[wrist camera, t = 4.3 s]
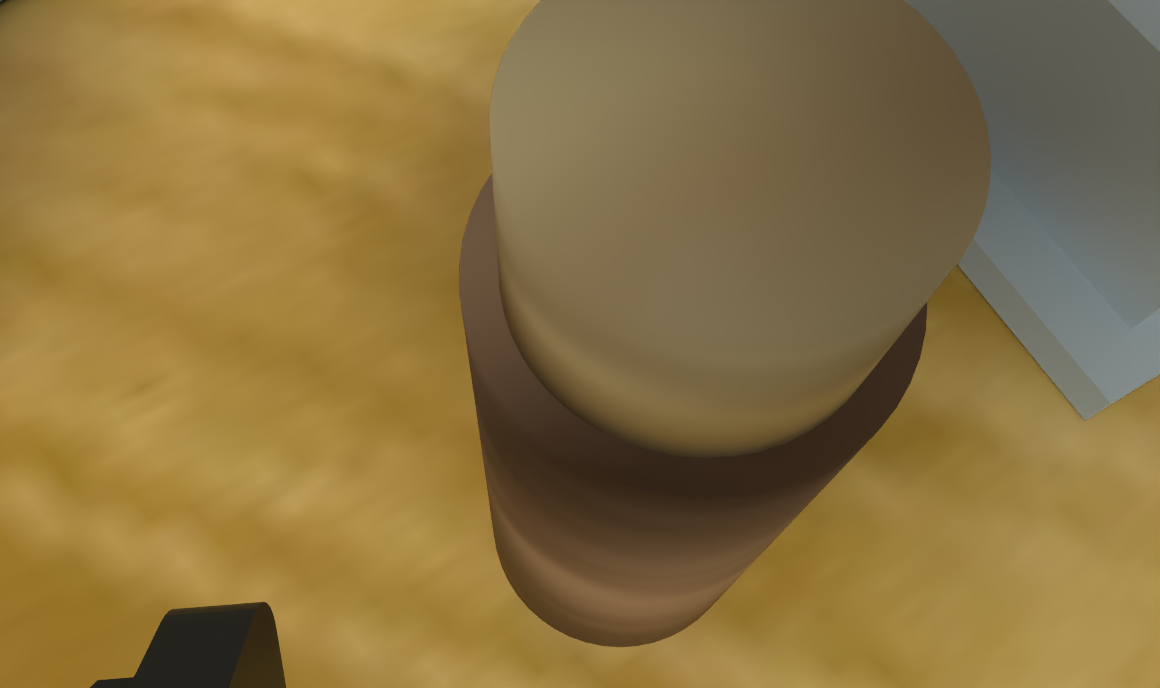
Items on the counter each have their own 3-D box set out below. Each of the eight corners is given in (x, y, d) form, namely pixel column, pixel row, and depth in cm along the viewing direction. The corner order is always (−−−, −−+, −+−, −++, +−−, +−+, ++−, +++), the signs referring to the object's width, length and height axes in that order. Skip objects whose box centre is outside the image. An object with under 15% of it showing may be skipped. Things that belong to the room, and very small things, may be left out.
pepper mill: (450, 473, 20) (335, 23, 8) (656, 364, 21) (810, -164, 9) (572, 697, 18) (642, 525, 7) (788, 565, 19) (1168, 225, 8)
